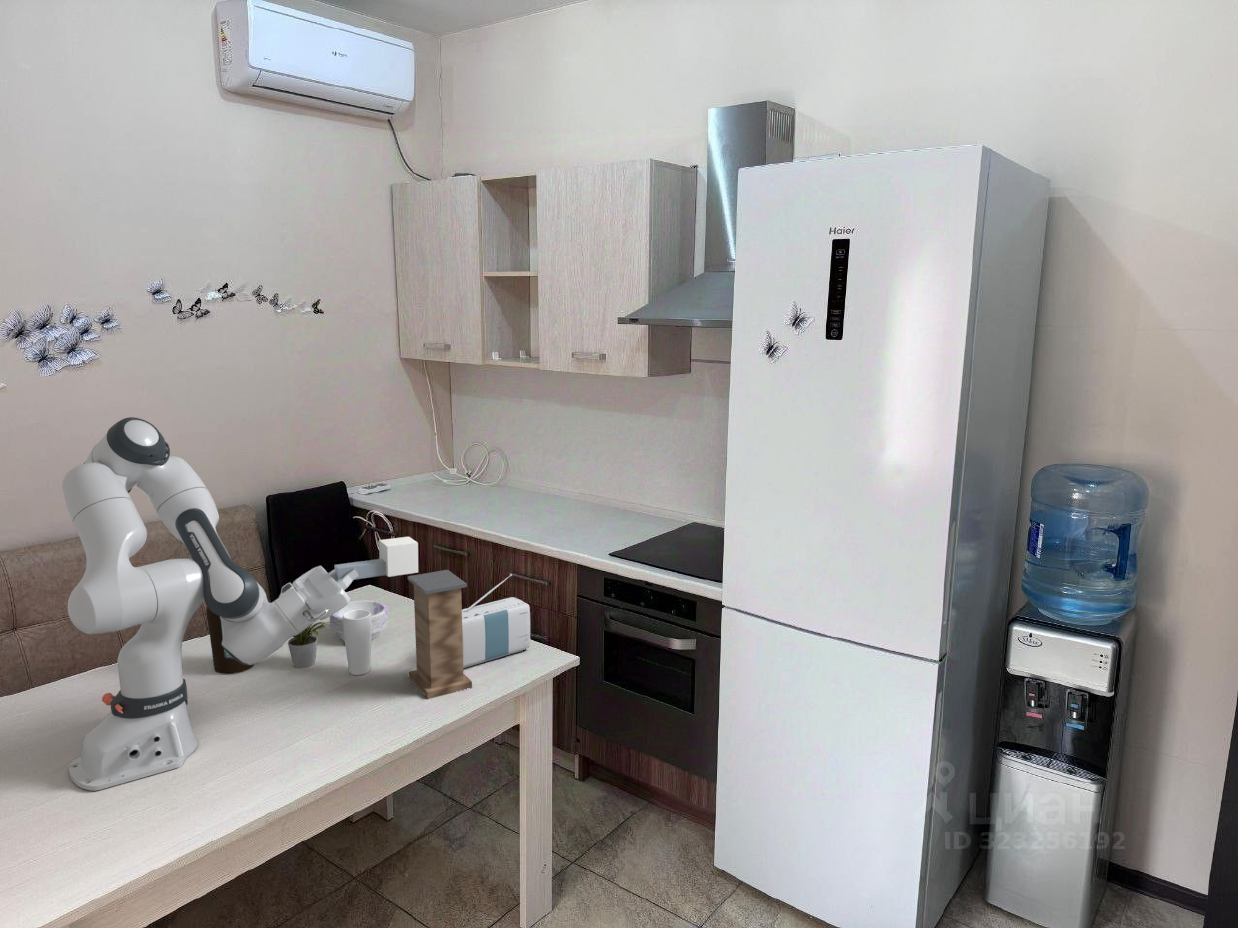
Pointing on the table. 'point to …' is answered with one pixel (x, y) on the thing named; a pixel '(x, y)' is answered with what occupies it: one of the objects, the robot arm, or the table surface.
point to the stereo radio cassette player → (494, 629)
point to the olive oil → (221, 648)
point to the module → (386, 560)
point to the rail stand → (438, 634)
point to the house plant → (305, 646)
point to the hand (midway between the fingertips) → (353, 568)
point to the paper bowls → (376, 608)
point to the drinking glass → (358, 640)
